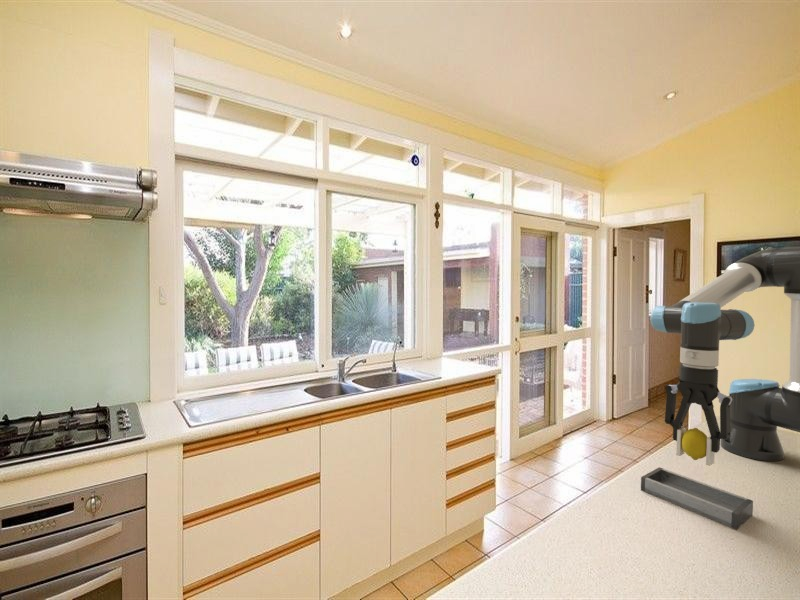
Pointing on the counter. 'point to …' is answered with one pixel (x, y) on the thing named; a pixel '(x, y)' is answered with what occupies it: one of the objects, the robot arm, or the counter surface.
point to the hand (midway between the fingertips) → (694, 458)
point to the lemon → (694, 443)
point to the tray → (698, 497)
